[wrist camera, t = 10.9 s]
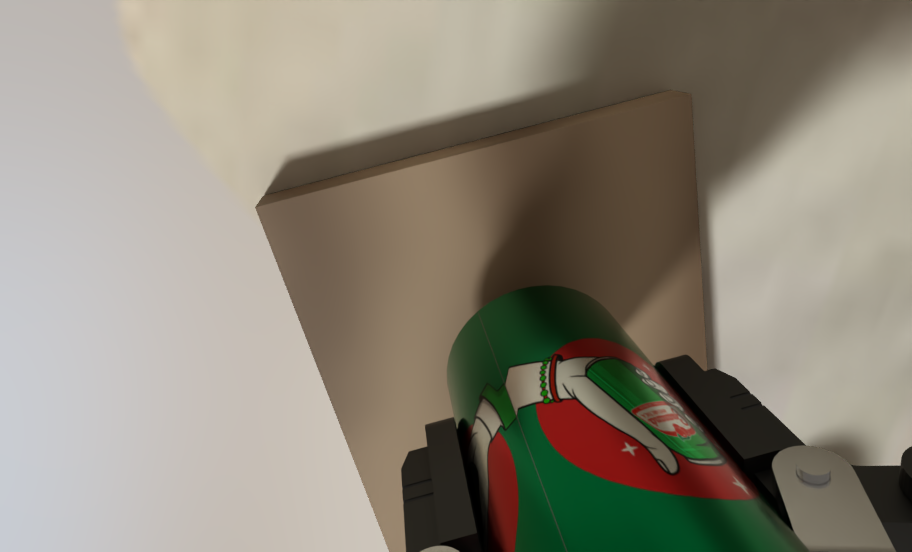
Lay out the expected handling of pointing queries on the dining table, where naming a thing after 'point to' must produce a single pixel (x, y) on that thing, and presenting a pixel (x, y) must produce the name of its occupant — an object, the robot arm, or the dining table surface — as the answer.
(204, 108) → the dining table surface
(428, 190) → the board
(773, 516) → the soda can
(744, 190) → the dining table surface
